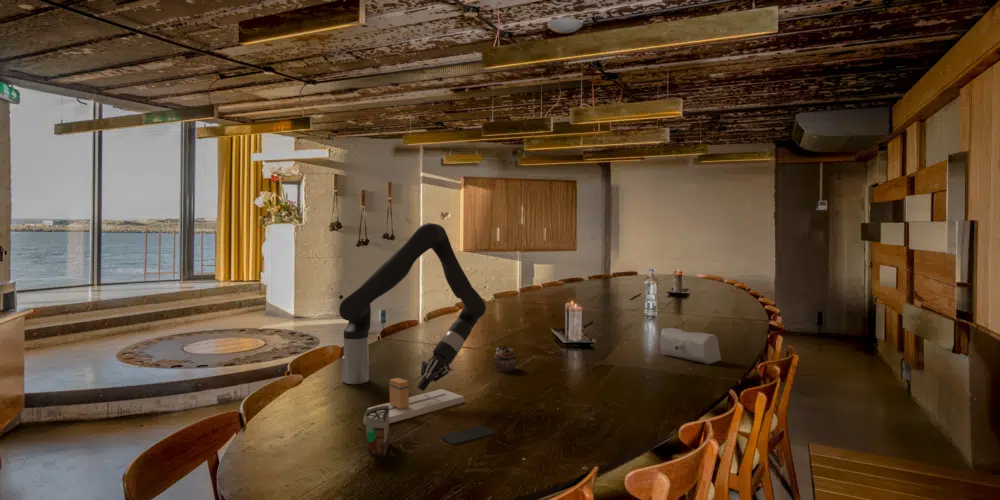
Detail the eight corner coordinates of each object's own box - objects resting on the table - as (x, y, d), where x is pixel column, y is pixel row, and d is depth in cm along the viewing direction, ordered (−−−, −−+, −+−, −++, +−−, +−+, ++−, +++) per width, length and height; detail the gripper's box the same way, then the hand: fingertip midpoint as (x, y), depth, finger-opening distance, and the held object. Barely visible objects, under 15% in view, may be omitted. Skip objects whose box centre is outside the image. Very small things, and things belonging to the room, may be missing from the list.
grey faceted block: (652, 356, 255) (652, 330, 255) (672, 351, 265) (672, 326, 265) (702, 367, 236) (702, 338, 235) (721, 361, 246) (722, 333, 245)
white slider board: (441, 394, 197) (441, 388, 197) (463, 402, 188) (463, 396, 188) (367, 414, 176) (367, 407, 176) (388, 423, 167) (388, 417, 167)
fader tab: (398, 402, 180) (397, 377, 180) (408, 406, 176) (408, 381, 176) (389, 404, 178) (389, 379, 178) (400, 409, 174) (400, 383, 173)
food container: (367, 440, 154) (366, 405, 154) (389, 440, 155) (389, 404, 154) (359, 459, 142) (359, 420, 142) (383, 458, 142) (383, 420, 142)
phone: (496, 432, 160) (452, 444, 151) (496, 435, 160) (452, 447, 151) (482, 425, 165) (438, 435, 156) (482, 427, 165) (438, 438, 156)
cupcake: (520, 370, 230) (520, 346, 230) (501, 374, 225) (501, 349, 224) (507, 365, 238) (507, 342, 238) (488, 369, 232) (488, 345, 232)
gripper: (431, 337, 193) (402, 379, 185) (455, 343, 184) (425, 387, 176) (443, 350, 197) (415, 391, 189) (467, 356, 188) (438, 399, 180)
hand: (420, 389), depth 183 cm, fingers closed
